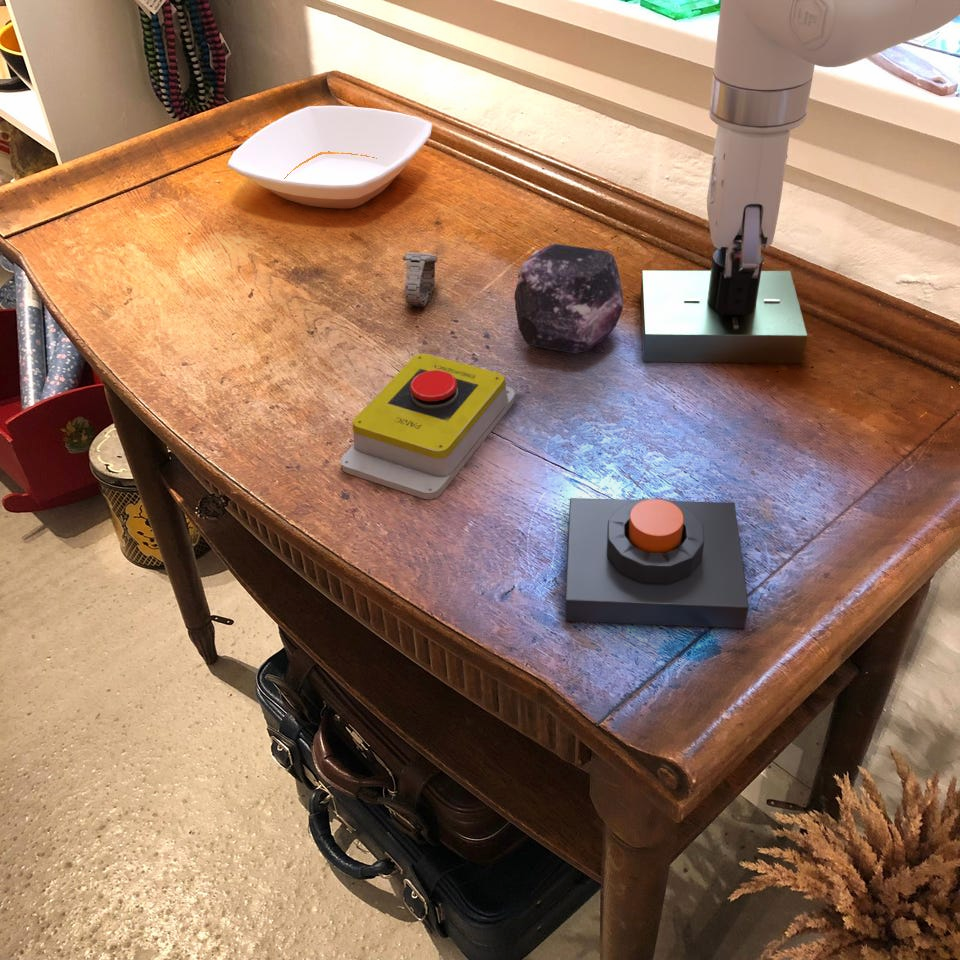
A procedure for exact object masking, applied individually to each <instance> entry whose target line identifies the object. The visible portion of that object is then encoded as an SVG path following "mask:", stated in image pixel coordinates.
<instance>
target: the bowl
mask: <svg viewBox="0 0 960 960" xmlns="http://www.w3.org/2000/svg"><path fill="white" fill-rule="evenodd" d="M432 130H433V123H432V122H431V121H428V120H426V119H423V118H420V117H418V116H415V115H411V114H405V113H401V112H397V111H392V110H385V109H379V108H372V107H361V106H351V105H350V106H349V105H311V106H310V105H309V106H306V107H303V108H301V109H298V110H295V111H292V112H290V113H288V114H285V115H284V116H283V117H280V118H278V119H276V120H275V121H273V122H271V123H269V124H268V125H266V126H265V127H263V128H261V129H260V130H257V131H256V132H255V133H254V134H253V135H251V136H250V137H249V138H248V139H246V140H245V141H244V142H243V143H242V144H241V145H240V146H239V147H237V149H235V150H234V151H233V153H232V154H231V156H230V158H229V160H228V161H227V164H226V166H227V168H229V169H230V170H232V171H234V172H236V173H237V174H239V175H241V176H243V177H244V178H246V179H248V180H250V181H252V182H253V183H255V184H257V185H259V186H261V187H262V188H264V189H266V190H268V191H270V192H271V193H273V194H275V195H277V196H279V197H280V198H283V199H284V200H288V201H291V202H294V203H297V204H301V205H305V206H309V207H317V208H323V209H324V208H325V209H344V210H345V209H355V208H358V207H359V206H362V205H364V204H365V203H367V202H369V201H370V200H372V199H373V198H376V197H377V196H378V195H379V194H381V193H382V192H384V190H386V189H387V188H388V187H389V186H390V185H391V183H392V182H393V181H394V180H395V179H396V178H397V176H398V175H399V174H400V173H401V172H402V171H403V169H405V167H407V165H408V164H409V163H410V162H411V161H412V159H413V158H415V156H416V155H417V154H418V153H419V152H420V150H421V149H422V148H423V147H424V146H425V144H426V143H427V142H428V140H429V139H430V138H431V135H432ZM328 151H330V152H339V153H342V152H343V153H352V154H358V155H351V154H322V155H319V156H317V157H315V158H313V159H311V160H309V161H308V162H306V163H304V164H302V165H301V166H299V167H298V168H296V169H295V170H293V169H294V168H295V167H296V166H298V165H299V164H300V163H302V162H304V161H306V160H307V159H309V158H311V157H312V156H314V155H316V154H318V153H320V152H328ZM361 154H362V155H367V156H370V157H366V156H360V155H361ZM372 157H375V158H372ZM376 158H377V159H376ZM292 170H293V171H292ZM291 171H292V172H291ZM290 172H291V173H290ZM289 173H290V174H289ZM287 174H289V175H288V176H287ZM286 176H287V177H286ZM285 177H286V178H285ZM284 178H285V179H284Z"/></svg>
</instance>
